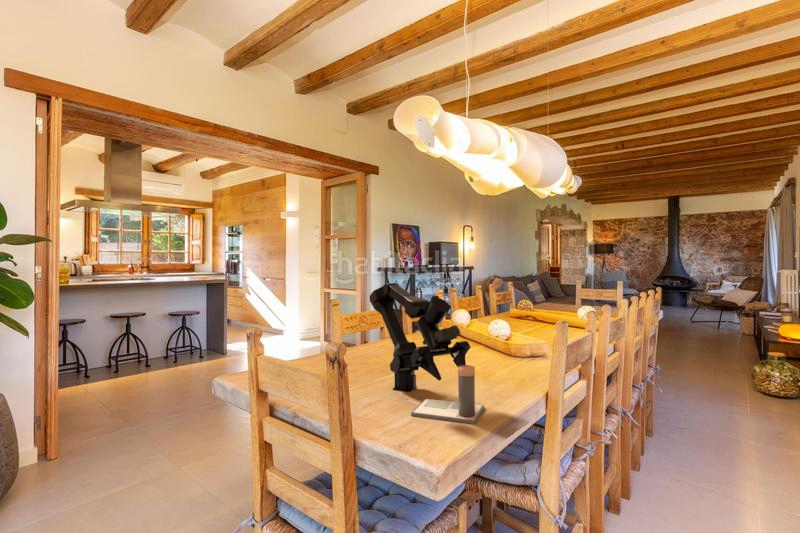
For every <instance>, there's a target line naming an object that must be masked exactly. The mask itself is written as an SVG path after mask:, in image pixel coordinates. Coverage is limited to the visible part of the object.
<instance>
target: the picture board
mask: <svg viewBox="0 0 800 533" xmlns="http://www.w3.org/2000/svg"><path fill="white" fill-rule="evenodd" d="M484 409H485V405H484V404H478V403H477V404H476V403H475V416H473V417H462V416H460V415H459V401H451V400H450V401H449V400H441V399H433V398H432V399H431V398H425V399H424V400H423V401H421V403H419V404H418V406H416V407H415V408H414V409H413V411H412V412H410V416H412V417H418V418H426V419H435V420H442V421H448V422H457V423H465V424H471V425H476V423H477V421H478V420H479V418H480V416H481V414H482V413H483V411H484Z"/></svg>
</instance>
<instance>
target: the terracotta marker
mask: <svg viewBox="0 0 800 533" xmlns="http://www.w3.org/2000/svg"><path fill="white" fill-rule="evenodd" d="M457 376H458V377H457V378H458V384H457V385H458V402H459V415H460V416H462V417H473V416H475V404H476V391H475V390H476V388H475V387H476V383H475V380H476V379H475V376H476V367H475V366H474V365H470V364H466V365H460V366H458V367H457Z"/></svg>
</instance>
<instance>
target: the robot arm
mask: <svg viewBox="0 0 800 533" xmlns="http://www.w3.org/2000/svg"><path fill="white" fill-rule="evenodd" d="M395 301H396V302H397V303H398V304H399V305H401V306H402V307H403V308H404V313H405V314H406V315H407V316H408V318H410V320H411V319H418V321H416V322H415V326H414V331H420V334H421V336H422V339H423V341H422V345H424V346H418V347H417V344H416V343H415V341H409V340H408V339H407V337H406V335H405V332H404V329H403V327H402V326H401V323H400V321H399V318H398V316H397V314H396V310H395V309H394V305H395ZM369 302H370V303H371V306H372V307H373V309H374V310H375V311H376V312H378V313H379V314H380V315H381V317H382V320H383V322H384V324H385V327H386V329H387V332H388V334H389V337H390V339H391V342H392V344H393V347H394V348H393V349H394V350H393V353H392V356H393V359H392V360H391V362H390V363H389V369H390V371H391V372H392V373H394V387H393V388H392V390H393V391H401V392H409V393H410V392H413V390H414V389H415V388H417V375H416V374H415V373H416V372H415V371H419V368H421V369H423V370H424V371H426V372H427V373H428V374H430V375H431V376H432V377H434V378H435V379H436V380H437V381H441V380H442V377H441V374H440V372H439V370H438V367H437V365H436V362H435V360H434V357H440V356H446V355H450V357H451V358H452V361H453V363H454V364H455V365H456V367H457V368H458V366H460V365H467V363H466V362H467V361H466V354H468V352H469V350H470V349H471V348H472V346H471V345H470V343H469V341H468V340H467V341H466V340H461V341H456V342H455V343H454V344H453V346H451V344H452V340H455V339H458V337H459V336H461V331H460V328H459V327H458V326H457V325H451V326H450V327H446V328H441V329H440V327H439V324H441V323H442V322H443V320H444V318H445V317H446V316H447V314H448V312H449V311H450V304H449V303H448V302H447V301H446V300H445V299H443V298H440V297H439V295H432V296H431V298H430V300H428V299H425V298H423V297H418V296H414V295H413V294H411V293H410V292H408V291H407V290H406V289H405V288H403V287H402V286H400V285H399V284H398V283H397V282H387V283H385V284H383V285H382V286H381V287H379V288H377V289H374V290H373V291H372V292H371V293H370V295H369ZM449 346H451V347H449Z"/></svg>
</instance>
